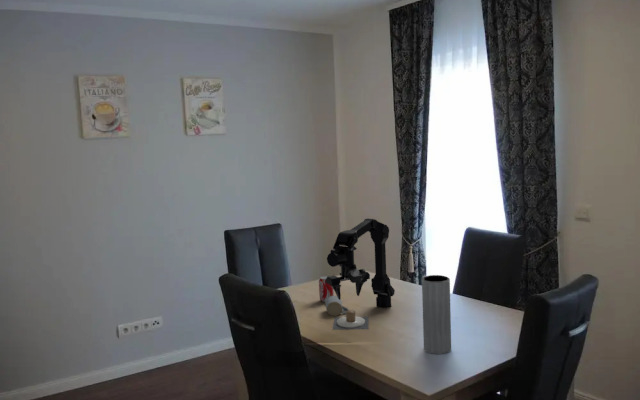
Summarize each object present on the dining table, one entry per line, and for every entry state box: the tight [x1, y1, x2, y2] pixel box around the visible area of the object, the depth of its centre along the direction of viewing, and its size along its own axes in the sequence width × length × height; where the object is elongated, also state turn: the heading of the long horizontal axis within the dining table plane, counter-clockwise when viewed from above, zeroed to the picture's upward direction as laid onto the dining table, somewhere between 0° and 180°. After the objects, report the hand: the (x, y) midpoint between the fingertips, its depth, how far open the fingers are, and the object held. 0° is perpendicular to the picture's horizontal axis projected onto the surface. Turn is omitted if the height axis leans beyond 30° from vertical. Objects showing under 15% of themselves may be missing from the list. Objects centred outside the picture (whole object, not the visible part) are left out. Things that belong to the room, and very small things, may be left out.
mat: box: [332, 316, 370, 331], centre depth 229 cm, size 15×15×1 cm
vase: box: [421, 274, 452, 355], centre depth 198 cm, size 10×10×27 cm
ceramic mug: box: [325, 295, 350, 317], centre depth 244 cm, size 11×8×8 cm
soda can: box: [318, 275, 335, 303], centre depth 264 cm, size 7×7×12 cm
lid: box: [337, 309, 365, 328], centre depth 229 cm, size 12×12×5 cm
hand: (348, 297), depth 228 cm, fingers open, 9 cm apart
